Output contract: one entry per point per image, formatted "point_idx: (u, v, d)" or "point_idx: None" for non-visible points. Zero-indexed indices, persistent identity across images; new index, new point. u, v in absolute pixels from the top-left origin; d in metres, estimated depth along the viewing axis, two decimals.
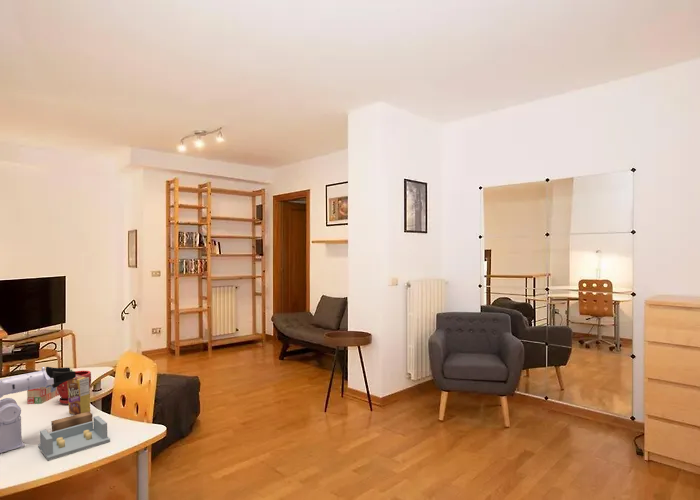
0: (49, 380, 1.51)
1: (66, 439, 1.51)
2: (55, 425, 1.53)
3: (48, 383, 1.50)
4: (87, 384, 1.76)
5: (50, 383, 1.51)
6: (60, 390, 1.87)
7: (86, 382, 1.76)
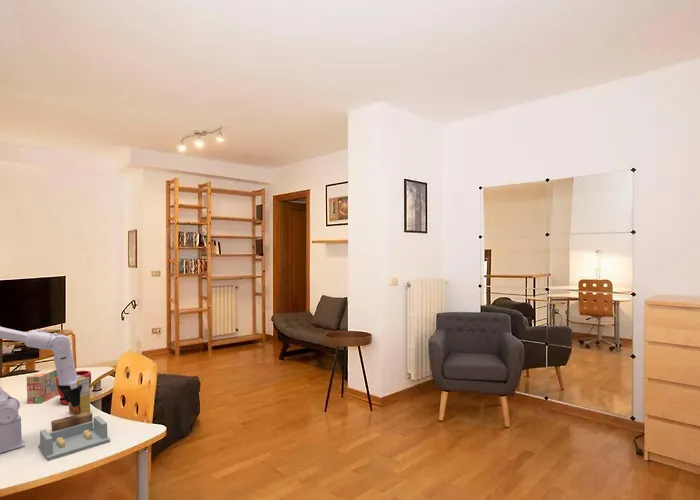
0: (75, 384, 1.53)
1: (66, 439, 1.51)
2: (55, 425, 1.53)
3: (72, 384, 1.53)
4: (87, 384, 1.76)
5: (72, 386, 1.53)
6: (60, 390, 1.87)
7: (86, 382, 1.76)
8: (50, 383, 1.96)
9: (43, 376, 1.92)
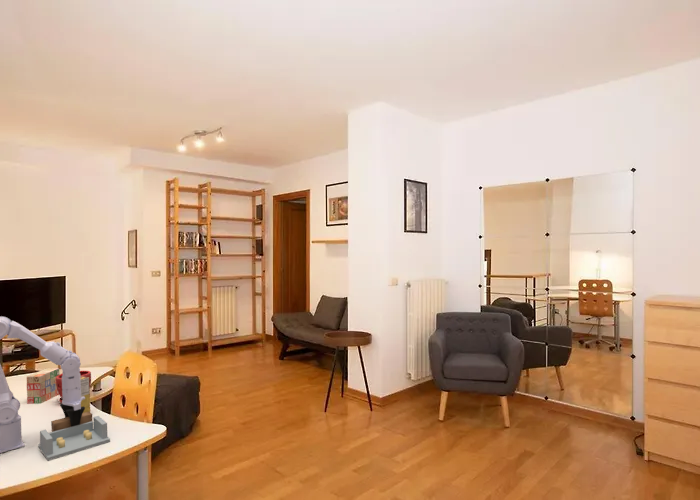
0: (79, 405, 1.54)
1: (66, 439, 1.51)
2: (55, 425, 1.53)
3: (76, 405, 1.53)
4: (87, 384, 1.76)
5: (75, 407, 1.53)
6: (60, 390, 1.87)
7: (86, 382, 1.76)
8: (50, 383, 1.96)
9: (43, 376, 1.92)
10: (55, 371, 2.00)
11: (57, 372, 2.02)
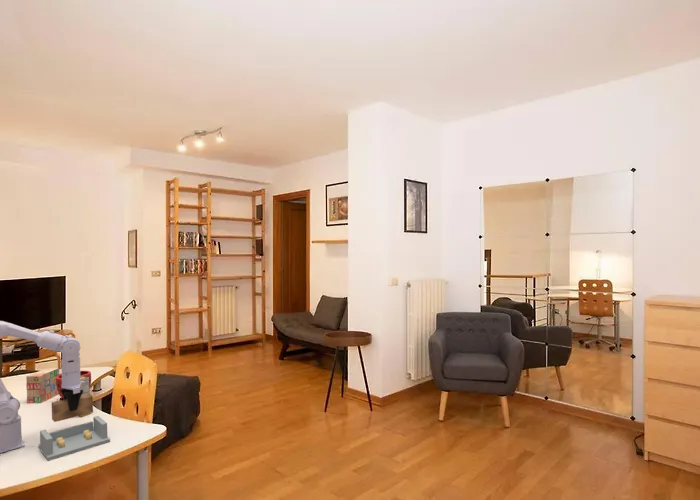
0: (78, 389, 1.53)
1: (66, 439, 1.51)
2: (55, 406, 1.53)
3: (75, 389, 1.53)
4: (87, 384, 1.76)
5: (75, 390, 1.53)
6: None
7: (86, 382, 1.76)
8: (49, 383, 1.97)
9: (43, 376, 1.93)
10: (55, 371, 2.00)
11: (57, 372, 2.02)
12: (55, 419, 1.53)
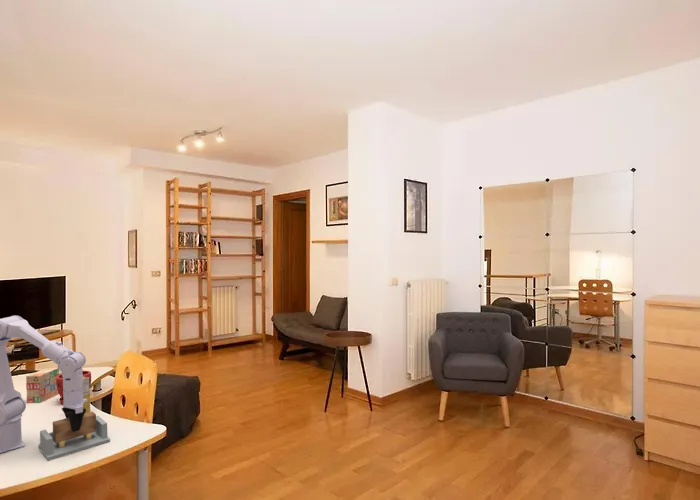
0: (81, 408, 1.44)
1: None
2: (56, 426, 1.44)
3: (78, 408, 1.44)
4: (87, 384, 1.76)
5: (77, 410, 1.44)
6: (60, 390, 1.87)
7: (86, 382, 1.76)
8: (49, 383, 1.97)
9: (42, 375, 1.93)
10: (55, 371, 2.01)
11: (57, 372, 2.02)
12: (56, 440, 1.44)
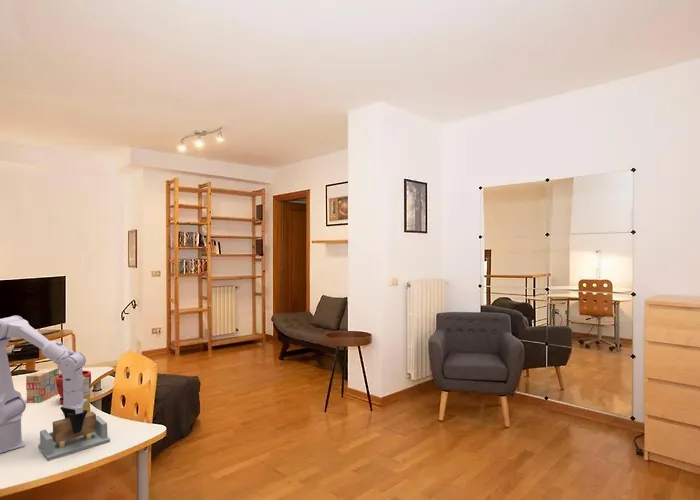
0: (81, 409, 1.44)
1: None
2: (56, 426, 1.44)
3: (78, 409, 1.44)
4: (87, 384, 1.76)
5: (77, 410, 1.44)
6: (60, 390, 1.87)
7: (86, 382, 1.76)
8: (49, 382, 1.97)
9: (42, 375, 1.93)
10: (55, 370, 2.01)
11: (57, 371, 2.02)
12: (56, 440, 1.44)
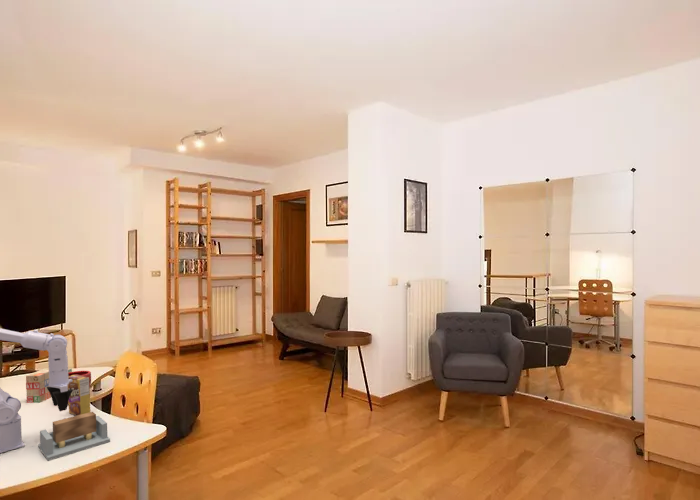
0: (66, 387, 1.51)
1: None
2: (56, 426, 1.44)
3: (62, 387, 1.50)
4: (87, 384, 1.76)
5: (62, 389, 1.50)
6: None
7: (86, 382, 1.76)
8: None
9: (42, 375, 1.94)
10: None
11: None
12: (56, 440, 1.44)
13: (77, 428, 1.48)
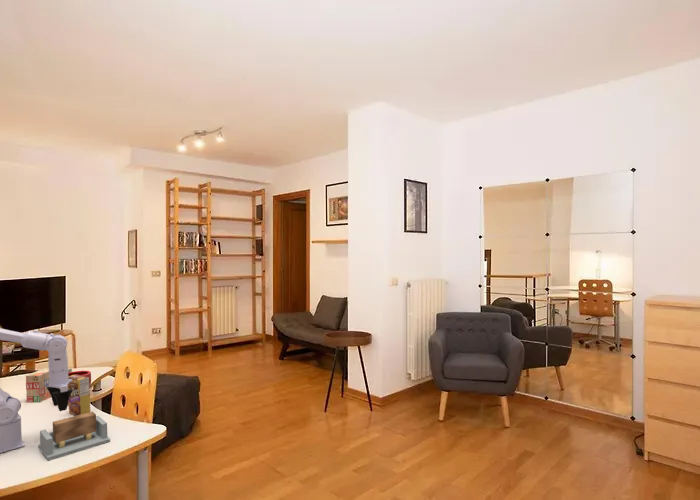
0: (66, 387, 1.51)
1: None
2: (56, 426, 1.44)
3: (62, 387, 1.50)
4: (87, 384, 1.76)
5: (62, 389, 1.50)
6: None
7: (86, 382, 1.76)
8: None
9: (42, 375, 1.94)
10: None
11: None
12: (56, 440, 1.44)
13: (77, 428, 1.48)
